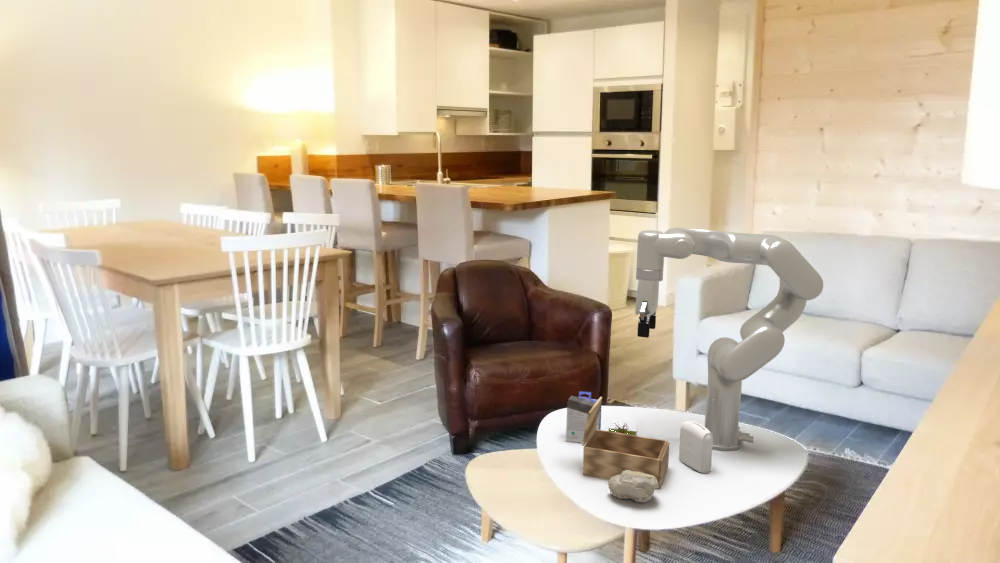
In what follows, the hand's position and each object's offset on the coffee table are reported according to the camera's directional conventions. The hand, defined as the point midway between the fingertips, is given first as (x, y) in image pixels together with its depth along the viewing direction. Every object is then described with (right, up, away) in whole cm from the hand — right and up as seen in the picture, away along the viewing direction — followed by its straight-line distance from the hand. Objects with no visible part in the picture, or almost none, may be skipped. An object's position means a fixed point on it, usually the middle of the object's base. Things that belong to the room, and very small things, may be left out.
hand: (646, 332), depth 217 cm
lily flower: (-6, -33, +10) cm, 35 cm away
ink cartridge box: (-17, -33, +7) cm, 38 cm away
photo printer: (+11, -36, -9) cm, 39 cm away
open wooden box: (-8, -37, -13) cm, 40 cm away
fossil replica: (-9, -40, -28) cm, 49 cm away
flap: (-17, -23, -12) cm, 31 cm away
